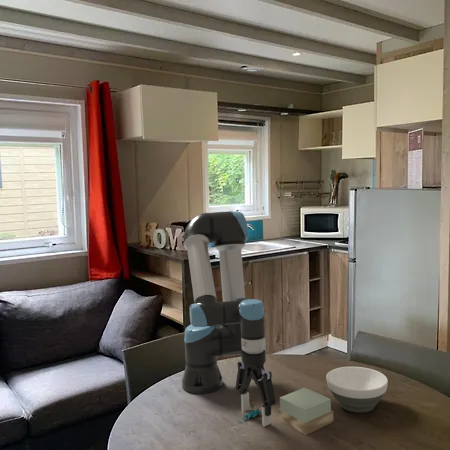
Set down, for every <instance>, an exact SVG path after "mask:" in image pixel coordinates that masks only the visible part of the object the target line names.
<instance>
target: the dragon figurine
mask: <svg viewBox="0 0 450 450" xmlns="http://www.w3.org/2000/svg"><path fill="white" fill-rule="evenodd" d="M250 405H251V408H252V409H250V410H248V411H246V412H245V413H244V414H242V419H243V421H244V422H245V423H247V420H249V419H254V418H255V417H256V416H259V417H260V416H261V417H262V409H260V408H258V406H256V403H255V402H254V400H253V399H252V400H251V402H250ZM255 407H256V409H255ZM246 418H247V420H246ZM237 422H239V423H241V424H243V422H242V421H240V420H236V421H235V423H237Z"/></svg>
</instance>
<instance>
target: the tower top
mask: <svg viewBox="0 0 450 450" xmlns="http://www.w3.org/2000/svg"><path fill="white" fill-rule="evenodd" d="M331 401H332V400H331V398H329V397H327V396H325V395H322V394H320V393H318V392H316V391H313V390H311V389H309V388H307V387H302V388H299V389H298V390H295V391H292V392H290V393H287V394H285V395H283V396H280V397H279V409H280V410H281V411H283V412H285V413H287V414H289V415H291V416H293V417H295V418H297V419H299V420H301V421H303V422H305V423H307V422H309V421H311V420H314V419H316V418H318V417H320V416H322V415H324V414H326V413H329V412H331V410H332V407H331V406H332V403H331Z"/></svg>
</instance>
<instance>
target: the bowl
mask: <svg viewBox="0 0 450 450" xmlns="http://www.w3.org/2000/svg"><path fill="white" fill-rule="evenodd" d="M325 378H326V384H327V388H328V389H329V390H330V392H331V394H332V396H333V397H334V399H335V400H336V401H337V402H338V404H339V405H340V407H341V408H342V409H343V410H345V411H348V412H351V413H358V414H365V413H368V412H369V413H370V412H372V411H373V410H374V409H375V407H376V405H378V403H379V402H380V401H381V399H382V397H383V396H384V395H385V394H386V392H387V389H388V385H389V384H388V383H389V382H388V381H389V380H388V378H387V376H386V375H385V374H383V373H382V372H380V371H378V370H375V369H372V368H368V367H362V366H342V367H337V368H334V369H331V370H330V371H328V372H327V374H326V376H325Z"/></svg>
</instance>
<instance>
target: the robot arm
mask: <svg viewBox="0 0 450 450" xmlns="http://www.w3.org/2000/svg"><path fill="white" fill-rule="evenodd" d="M248 240H249V227H248V222H247V219H246V216H245V215H244V213H242V212H241V211H220V212H219V211H218V212H204V213H203V212H202V213H200V214H197V215H196V216H195V217H194V218H192V219H190V221H189V222H188V224H187V225H186V227H185V230H184V233H183V247H184V249H185V250H186V251H187V256H188V264H189V265H188V266H189V271H190V272H189V273H190V279H191V285H192V286H191V287H192V296H193V302H194V303H192V304H190V305H189V321H190V324H189V325H188V326H187V327H185V330H184V338H183V341H184V349H185V353H184V354H185V368H184V372H183V375H182V379H181V386H182V389H183V390H184V391H186V392H188V393H191V394H192V393H193V394H207V393H213V392H215V391H218V390H220V389H221V388H222V387H223V384H224V382H223V380H224V379H223V376H222V374H221V370H220V367H219V365H218V358H219V357H229V356H238V355H239V356H241V361H238V362H237V373H236V381H235V390H236V391H238V393H239V395H240V404H241V406H240V407H241V415H243V414H244V413H245V412H246V411H248V410H251V409H250V392H249V387H250V384H251V382H252V380H253V382H254V384H255V385H256V386H257V389H258V392H259V395H260V397H261V401H262V405H261V412H262V415H261V419H262V421H261V423H262V427H266V426H269V425H270V424H271V422H272V421H271V415H272V406H274V405H276V404H277V401H276V396H275V391H274V385H273V381H272V379H273V378H272V377H273V375H272V371H266V370H265V366H264V365H265V363H266V361H267V359H266V356H267V355H266V330H265V329H266V328H265V324H266V323H265V306H264V302H263V301H262V300H259V299H256V298H252V299H251V298H247V297H246V294H245V293H246V292H245V280H244V279H245V278H244V268H243V255H242V250H243V248H244V247H245V246H246V243H245V242H247V241H248ZM210 244H214V248H215V250H217V251H218V253H219V264H220V265H219V266H220V267H219V268H220V281H221V283H220V284H221V295H222V301H218V300H217V294H216V287H215V282H214V276H213V270H212V264H211V258H210V254H209V253H210V252H209V246H210Z"/></svg>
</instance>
